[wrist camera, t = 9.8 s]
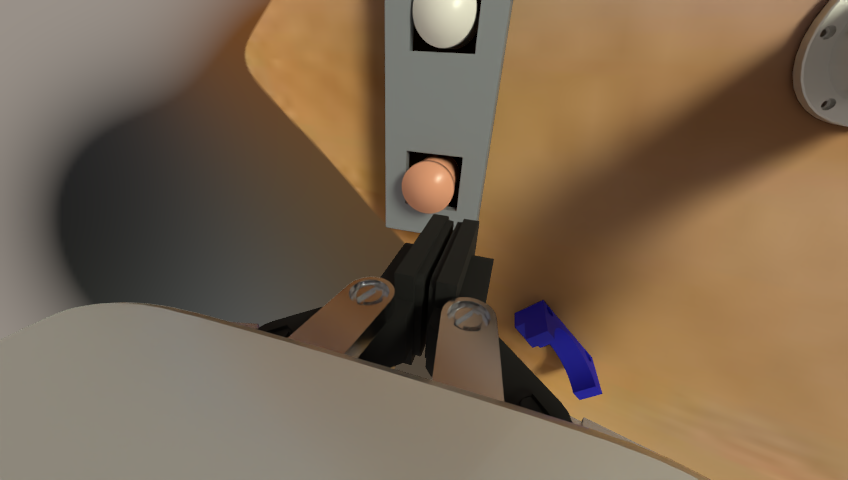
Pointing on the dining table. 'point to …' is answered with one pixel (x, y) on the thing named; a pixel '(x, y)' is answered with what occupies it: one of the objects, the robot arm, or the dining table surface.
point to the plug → (446, 22)
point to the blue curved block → (559, 346)
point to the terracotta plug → (430, 183)
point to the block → (440, 108)
